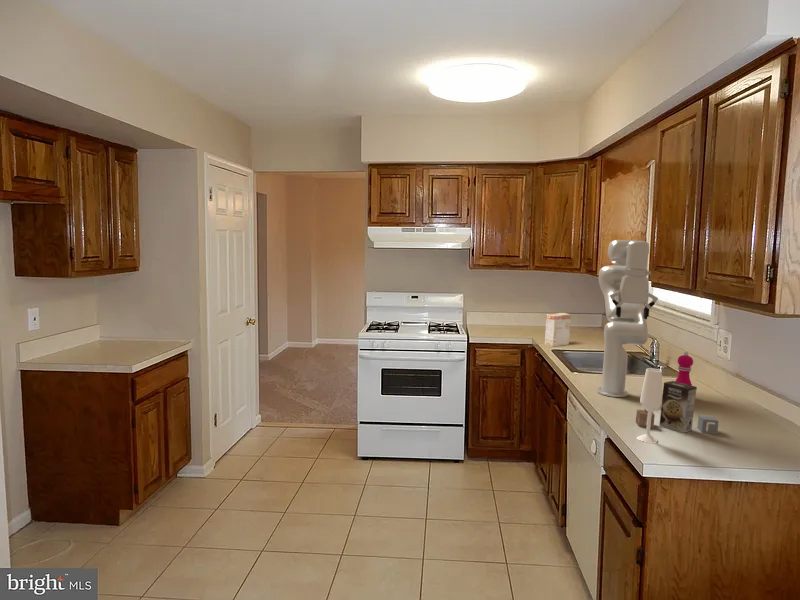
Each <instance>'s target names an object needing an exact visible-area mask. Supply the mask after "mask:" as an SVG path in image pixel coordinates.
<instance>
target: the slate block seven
mask: <svg viewBox="0 0 800 600" xmlns="http://www.w3.org/2000/svg"><path fill="white" fill-rule="evenodd" d="M719 422H720V421H719V420H718V419H717V417H715V416H714V415H704V414H698V418H697V427H696V428H697V429H698V431H699V432H700V433H701V434H709V433H711V435H712V434H713V435H718V431H719Z"/></svg>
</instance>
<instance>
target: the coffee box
mask: <svg viewBox="0 0 800 600" xmlns="http://www.w3.org/2000/svg"><path fill="white" fill-rule="evenodd" d="M675 381H676V380H675ZM675 381H674V380H671V381H665V382H663V386H662V405H661V406H660V416H659V427H663V428H667V429H669V430H673V431H676V432H679V433H682V434H684V433H688V432H690V431H692V430H693V429H692V428H693V422H694V412H695V406H696V405H695V402H696V398H697V397H696V395H697V390H698V387H697V386H695V385H692V386H691V385H687V384H683V383H679V382H675Z"/></svg>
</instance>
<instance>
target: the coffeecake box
mask: <svg viewBox="0 0 800 600" xmlns="http://www.w3.org/2000/svg"><path fill="white" fill-rule="evenodd" d="M571 318H572V314H570V313H566V312H556V313H546V320H545V333H544V334H545V335H544V346H548V347H560V346H561V347H563V346H569V343H570V333H571V320H572V319H571Z"/></svg>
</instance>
